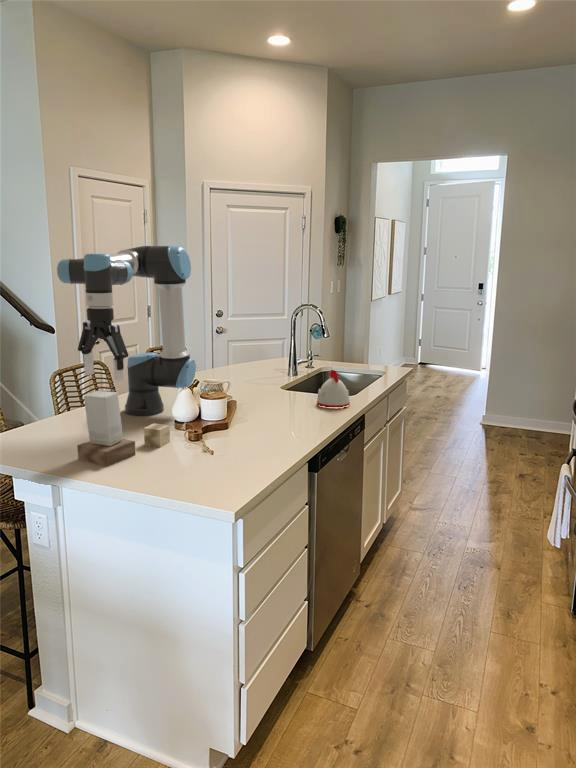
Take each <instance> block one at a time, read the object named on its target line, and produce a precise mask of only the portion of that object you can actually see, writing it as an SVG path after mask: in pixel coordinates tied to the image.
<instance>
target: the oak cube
mask: <svg viewBox="0 0 576 768" xmlns="http://www.w3.org/2000/svg"><path fill="white" fill-rule="evenodd" d="M170 429H171V428H170V425H169V424H161V423H154V422H153V423H151V424H150V425H147V426H145V427H143V438H144V440H143V442H144V446H148V447H153V448H162V447H164V446H166V445H167V444H169V443H171V434H170V433H171V432H170Z"/></svg>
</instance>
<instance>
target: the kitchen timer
mask: <svg viewBox="0 0 576 768" xmlns="http://www.w3.org/2000/svg"><path fill="white" fill-rule="evenodd" d="M338 376H339V375H338V374H337V370H335V369H330V372H329V378H328V379H327V380H326V381H325V382H324V383H323V384H322V385H321V387H320V388H318V391H317V400H316V405H317V404H318V405H320V406H325V407H343V406H347V405H349V406H350V392H349V391H350V390H349V389H347V387H346V385H345V384H344V383H343V381H342V380H340V378H339V377H338ZM318 405H317V406H318Z"/></svg>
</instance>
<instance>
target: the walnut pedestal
mask: <svg viewBox="0 0 576 768" xmlns="http://www.w3.org/2000/svg"><path fill="white" fill-rule="evenodd" d="M134 456H136V440H135V441H134V440H131V439H126V438H123V440H122V441H120V442H118V443H116V444H114V445H112V446H106V445H99V444H92V443H90V440H88V441H86V442H83V443H80V444H77V457H78V458H77V459H78V460H79V461H82V462H83V461H84V462H87V463H91V464H94V465H99V466H102V465H103V467H107V468H108V467H110V466H112V465H115V464H117V463H119V462H122V461H125V460H127V459H130V458H133V457H134Z"/></svg>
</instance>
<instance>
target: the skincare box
mask: <svg viewBox="0 0 576 768" xmlns="http://www.w3.org/2000/svg"><path fill="white" fill-rule="evenodd" d="M83 399H84V407H85V415H86V422H87V431H88V437H89V438H88V439H89V441H90V443H92V444H99V445H106V446H112V445H114V444H116V443H118V442H120V441H122V440H123V439H124V434H123V426H122V418H121V408H120V401H119V393H118V391H117V392H116V391H107V390H105V391H103V390H95V391H92V392H90V393H88V394H84V395H83Z"/></svg>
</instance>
